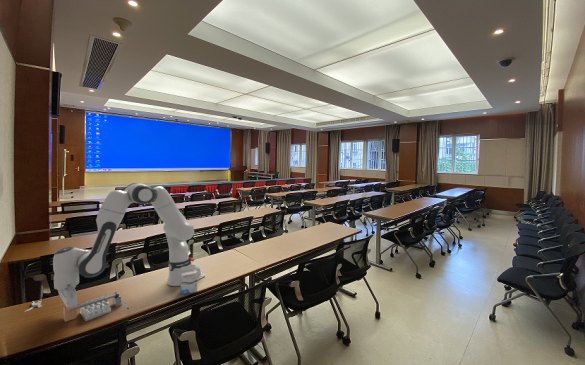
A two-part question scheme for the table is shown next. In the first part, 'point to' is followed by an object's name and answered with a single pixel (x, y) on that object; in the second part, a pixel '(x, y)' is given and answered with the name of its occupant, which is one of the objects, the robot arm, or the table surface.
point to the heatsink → (98, 308)
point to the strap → (96, 300)
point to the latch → (69, 313)
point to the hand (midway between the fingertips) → (68, 309)
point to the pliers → (35, 305)
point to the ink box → (188, 279)
